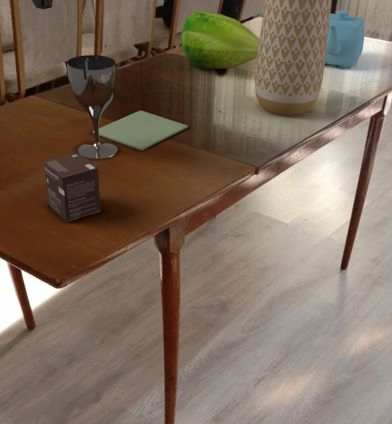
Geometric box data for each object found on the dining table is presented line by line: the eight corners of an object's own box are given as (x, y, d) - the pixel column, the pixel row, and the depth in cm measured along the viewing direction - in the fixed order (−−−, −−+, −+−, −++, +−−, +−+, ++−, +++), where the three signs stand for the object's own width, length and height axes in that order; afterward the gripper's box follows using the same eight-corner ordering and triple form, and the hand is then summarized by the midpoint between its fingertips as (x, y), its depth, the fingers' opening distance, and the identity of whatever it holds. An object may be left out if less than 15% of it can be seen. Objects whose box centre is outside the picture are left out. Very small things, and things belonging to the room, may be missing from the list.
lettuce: (250, 86, 141) (255, 28, 133) (169, 71, 147) (170, 15, 139) (269, 68, 151) (275, 13, 143) (193, 55, 156) (195, 2, 148)
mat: (141, 150, 113) (141, 148, 113) (92, 133, 118) (92, 131, 118) (187, 127, 122) (187, 125, 122) (140, 112, 127) (140, 110, 127)
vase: (323, 120, 127) (353, -58, 107) (256, 119, 126) (274, -61, 106) (310, 96, 137) (336, -71, 117) (248, 95, 136) (263, -73, 116)
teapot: (299, 70, 150) (307, 18, 143) (316, 50, 163) (323, 1, 156) (350, 78, 147) (361, 25, 140) (363, 57, 160) (373, 7, 153)
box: (48, 206, 97) (41, 161, 92) (82, 196, 100) (78, 151, 95) (67, 223, 93) (61, 177, 88) (102, 211, 96) (98, 166, 91)
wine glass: (66, 148, 113) (57, 60, 103) (103, 137, 117) (97, 52, 107) (92, 163, 108) (84, 73, 98) (129, 152, 112) (125, 64, 103)
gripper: (44, -148, 85) (58, -5, 97) (-36, -145, 77) (-10, 11, 88) (84, -143, 82) (94, 4, 93) (5, -140, 74) (26, 21, 85)
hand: (43, 7), depth 91 cm, fingers closed
